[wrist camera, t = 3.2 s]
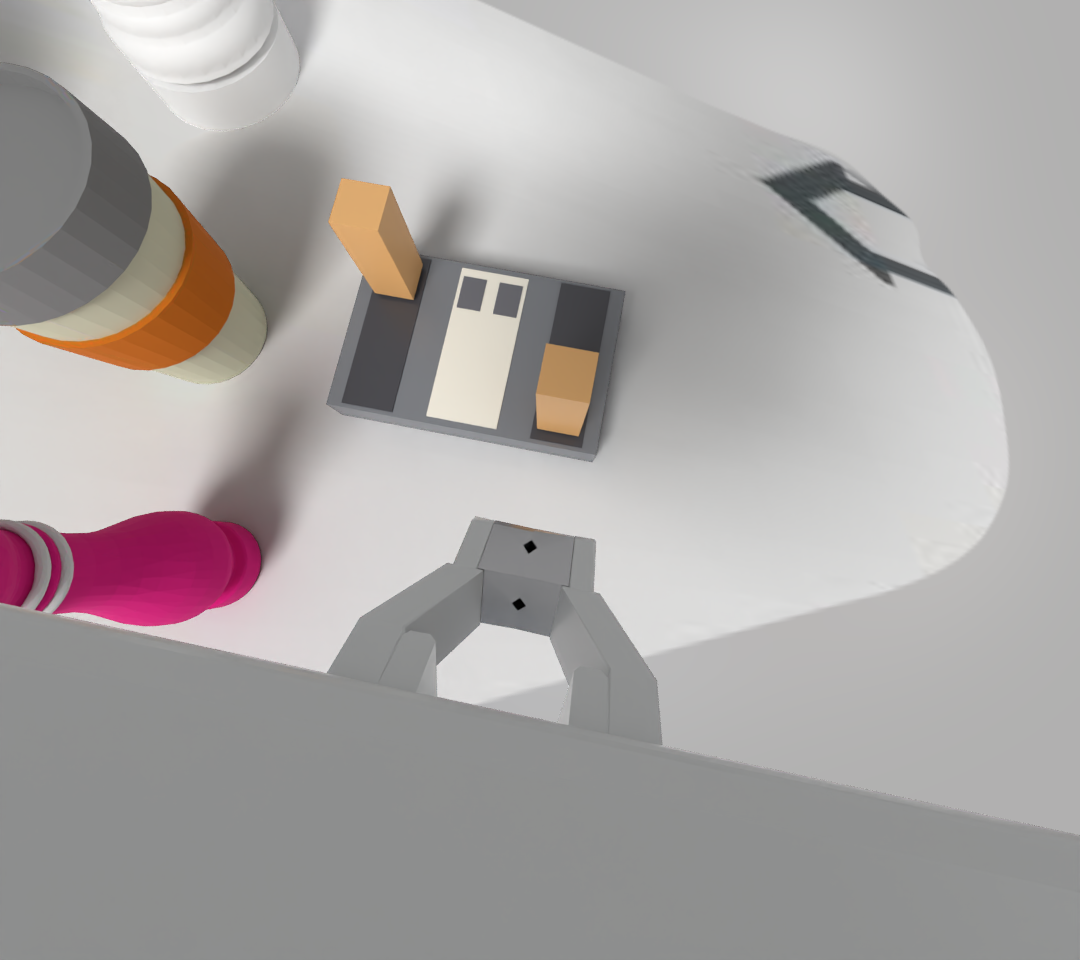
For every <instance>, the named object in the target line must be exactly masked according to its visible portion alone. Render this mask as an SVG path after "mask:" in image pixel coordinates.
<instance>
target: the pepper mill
mask: <svg viewBox="0 0 1080 960" xmlns="http://www.w3.org/2000/svg"><path fill="white" fill-rule="evenodd" d="M260 565H261V555H260V549H259V546H258V543H257V541H256V540H255V538H254V537H253V535H252V534H251V533H250V532H249V531H248V530H247V529H245V528H243V527H242V526H240V525H238V524H235V523H230V522H220V521H211V520H209V519H208V518H206V517H204V516H201V515H199V514H195V513H191V512H186V511H164V512H154V513H149V514H145V515H140V516H136V517H133V518H130V519H127V520H125V521H122V522H120V523H117V524H115V525H112V526H109V527H107V528H104V529H102V530H99V531H96V532H90V533H59V532H58V531H56V530H55V529H54V528H52V527H50V526H48V525H46V524H43V523H40V522H35V521H11V520H0V603H4V604H9V605H13V606H18V607H23V608H27V609H32V610H37V611H41V612H46V613H50V614H59V613H71V612H78V613H88V614H92V615H96V616H99V617H103V618H106V619H109V620H113V621H116V622H120V623H123V624H131V625H139V626H159V625H168V624H176V623H179V622H183V621H186V620H189V619H191V618H193V617H195V616H197V615H199V614H200V613H202V612H204V611H205V610H207V609H212V608H218V607H223V606H226V605H229V604H231V603H233V602H236V601H237V600H239V599H240V598H242V597H243V596H244V595H245V594H246V593H247V592H248V591H249V590H250V589H251V588H252V586H253V585H254V583H255V581H256V579H257V577H258V575H259V572H260Z"/></svg>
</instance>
